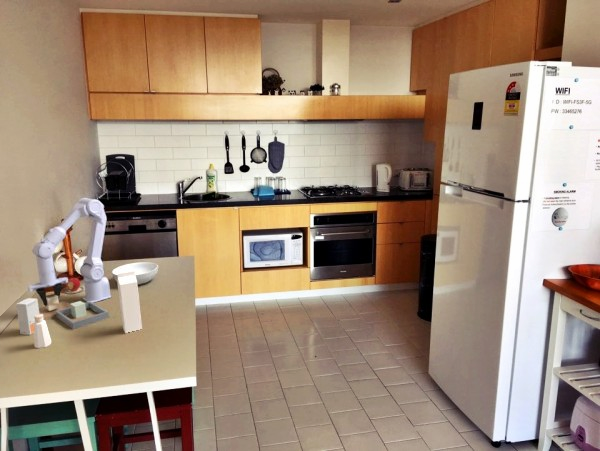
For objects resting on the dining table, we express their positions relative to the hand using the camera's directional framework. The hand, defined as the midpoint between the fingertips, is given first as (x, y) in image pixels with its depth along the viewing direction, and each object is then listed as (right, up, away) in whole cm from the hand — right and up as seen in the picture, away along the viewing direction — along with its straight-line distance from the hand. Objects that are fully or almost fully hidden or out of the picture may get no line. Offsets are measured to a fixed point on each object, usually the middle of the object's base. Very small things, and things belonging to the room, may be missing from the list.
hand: (51, 303), depth 192 cm
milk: (+39, -7, -16) cm, 43 cm away
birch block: (0, -2, 0) cm, 2 cm away
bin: (+15, -5, -5) cm, 17 cm away
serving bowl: (+23, +4, +35) cm, 42 cm away
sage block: (+13, -4, -3) cm, 14 cm away
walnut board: (0, -4, +1) cm, 4 cm away
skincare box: (+1, -8, -16) cm, 18 cm away
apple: (-2, +1, +25) cm, 25 cm away
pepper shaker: (+11, -10, -27) cm, 31 cm away
